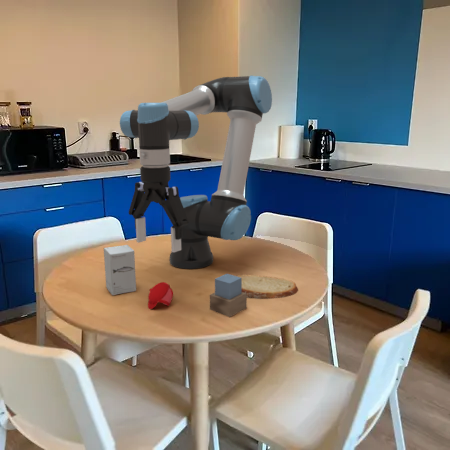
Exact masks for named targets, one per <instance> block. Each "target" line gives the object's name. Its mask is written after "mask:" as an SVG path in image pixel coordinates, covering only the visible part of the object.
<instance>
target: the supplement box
mask: <svg viewBox="0 0 450 450" xmlns="http://www.w3.org/2000/svg"><path fill="white" fill-rule="evenodd" d="M103 257H104V259H103V260H104V261H103V262H104V271H105V275H104V276H105V286H106V287H105V288H106V289H107V290H108V292H109V294H110V295H111V296H115V295H119V294H126V293H133V292H136V291H137V281H136V280H137V279H136V278H137V277H136V276H137V275H136V261H135V260H136V257H135V250H134V249H133V248H132V247H130V245H128V244H124V245H118V246H117V245H115V246H109V247H104V248H103Z"/></svg>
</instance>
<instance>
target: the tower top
mask: <svg viewBox="0 0 450 450" xmlns="http://www.w3.org/2000/svg"><path fill="white" fill-rule="evenodd" d="M237 276H238V275H233V274H231V273H230V274H229V273H225V274H223V275H221V276H219V277H216V278H214V293H215V295H217V296H220V297H223V298H226V299H229V300H230V299H232V298H234V297H236V296H238V295H240V294H241V289H242V278H240V277H237Z"/></svg>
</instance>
